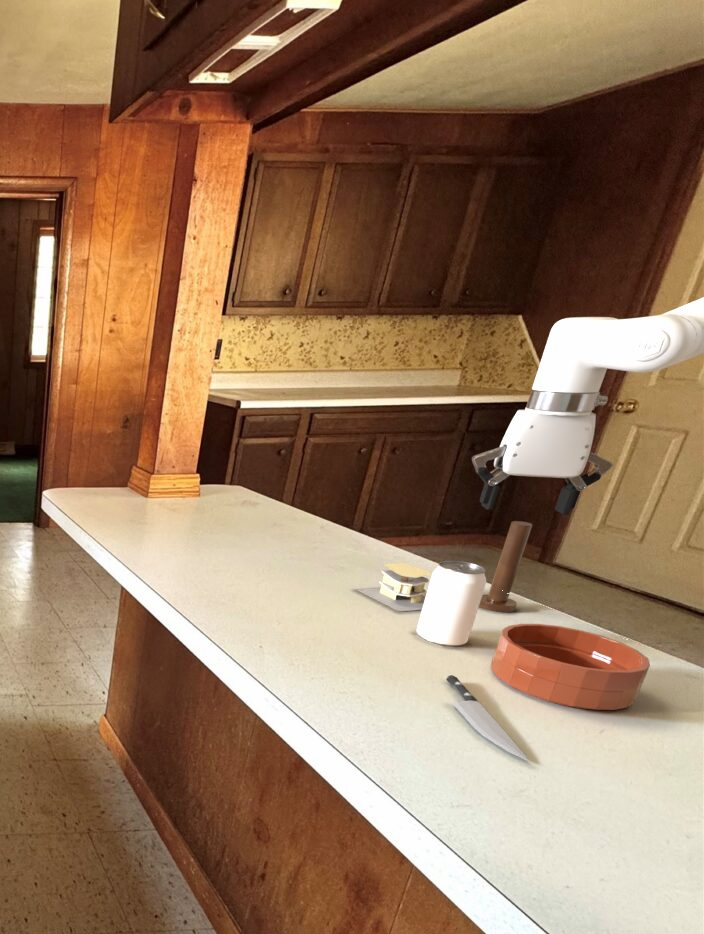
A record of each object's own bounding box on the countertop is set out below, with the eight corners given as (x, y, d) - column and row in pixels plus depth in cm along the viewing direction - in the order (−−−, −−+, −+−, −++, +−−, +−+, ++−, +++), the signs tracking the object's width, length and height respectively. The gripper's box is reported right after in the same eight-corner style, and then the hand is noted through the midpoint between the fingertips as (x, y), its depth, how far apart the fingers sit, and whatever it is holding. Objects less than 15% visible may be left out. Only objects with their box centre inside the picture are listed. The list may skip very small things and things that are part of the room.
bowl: (598, 669, 94) (613, 631, 92) (657, 722, 82) (676, 680, 79) (474, 654, 99) (486, 618, 97) (512, 702, 87) (527, 661, 85)
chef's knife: (497, 761, 76) (529, 763, 75) (499, 752, 76) (531, 755, 75) (428, 678, 93) (453, 680, 92) (429, 671, 92) (455, 673, 92)
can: (422, 643, 103) (443, 571, 98) (410, 626, 108) (429, 557, 104) (473, 649, 100) (497, 576, 96) (458, 632, 106) (480, 561, 101)
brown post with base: (507, 602, 116) (535, 520, 110) (520, 614, 111) (549, 529, 106) (471, 598, 118) (496, 517, 112) (481, 610, 113) (508, 526, 108)
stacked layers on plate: (355, 590, 123) (362, 562, 121) (400, 586, 124) (407, 559, 122) (398, 611, 114) (406, 582, 112) (446, 607, 114) (455, 578, 112)
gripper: (620, 401, 102) (580, 508, 108) (481, 399, 108) (451, 500, 115) (648, 407, 95) (604, 521, 102) (499, 404, 102) (466, 511, 108)
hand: (523, 510), depth 108 cm, fingers open, 9 cm apart
